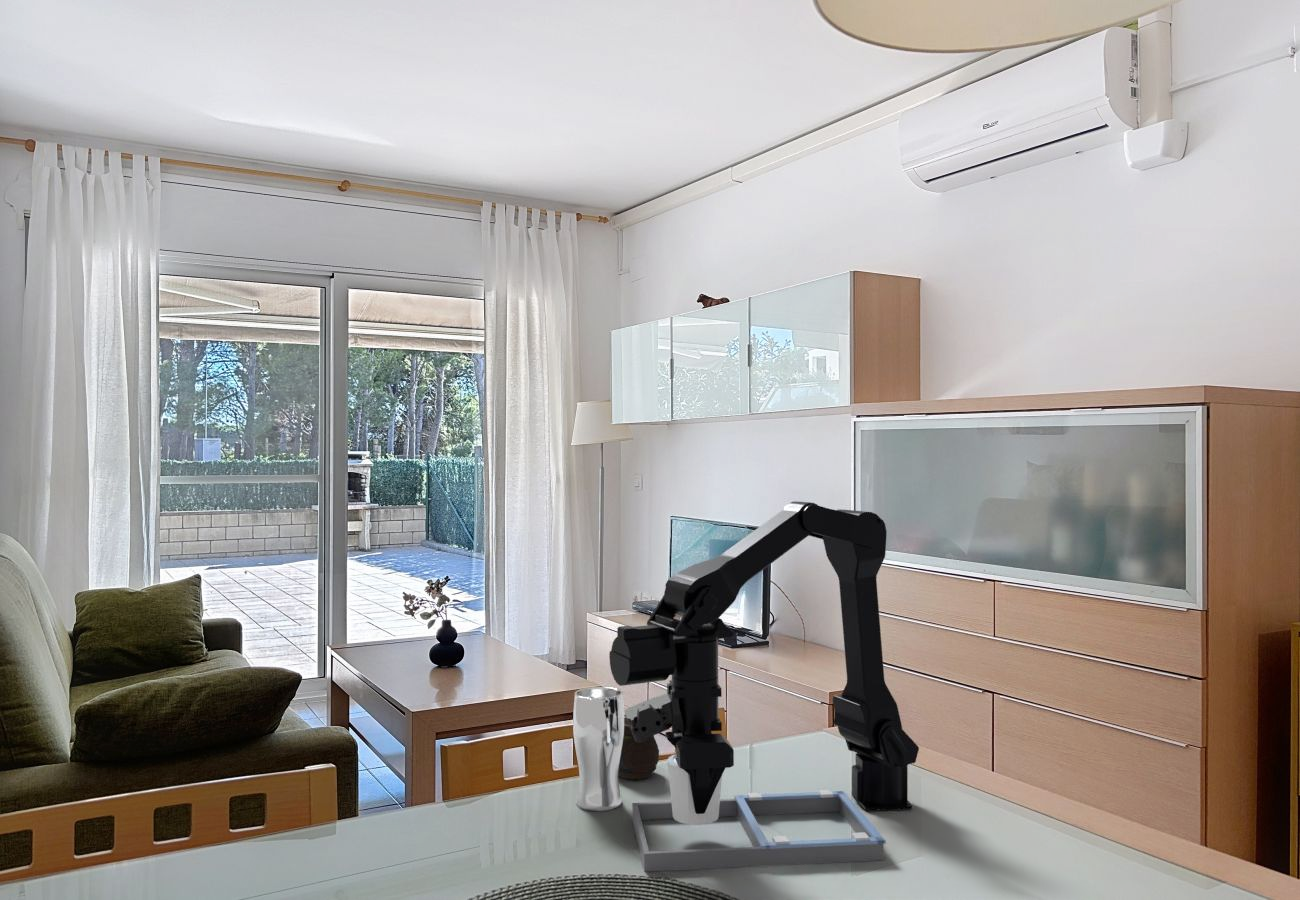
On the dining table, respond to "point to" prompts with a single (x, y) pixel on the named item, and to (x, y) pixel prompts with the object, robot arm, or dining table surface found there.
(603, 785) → the beer glass
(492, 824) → the dining table surface
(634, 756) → the mate gourd
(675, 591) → the robot arm
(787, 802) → the two-slot open tray
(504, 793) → the dining table surface
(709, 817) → the light grey cup
